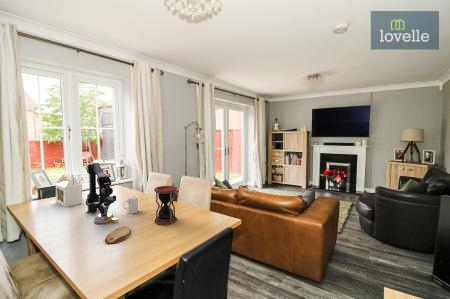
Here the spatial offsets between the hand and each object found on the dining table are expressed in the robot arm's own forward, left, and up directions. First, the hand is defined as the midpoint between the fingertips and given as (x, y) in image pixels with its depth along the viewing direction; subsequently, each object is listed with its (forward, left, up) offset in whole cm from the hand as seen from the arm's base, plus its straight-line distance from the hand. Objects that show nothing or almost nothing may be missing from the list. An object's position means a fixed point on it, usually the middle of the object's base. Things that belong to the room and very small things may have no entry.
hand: (104, 213), depth 160 cm
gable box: (-63, +23, -6) cm, 67 cm away
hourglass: (+43, +14, -6) cm, 46 cm away
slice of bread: (+27, -16, -6) cm, 32 cm away
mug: (+6, +21, -6) cm, 23 cm away
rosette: (+2, 0, -5) cm, 6 cm away
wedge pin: (0, 0, -4) cm, 4 cm away
